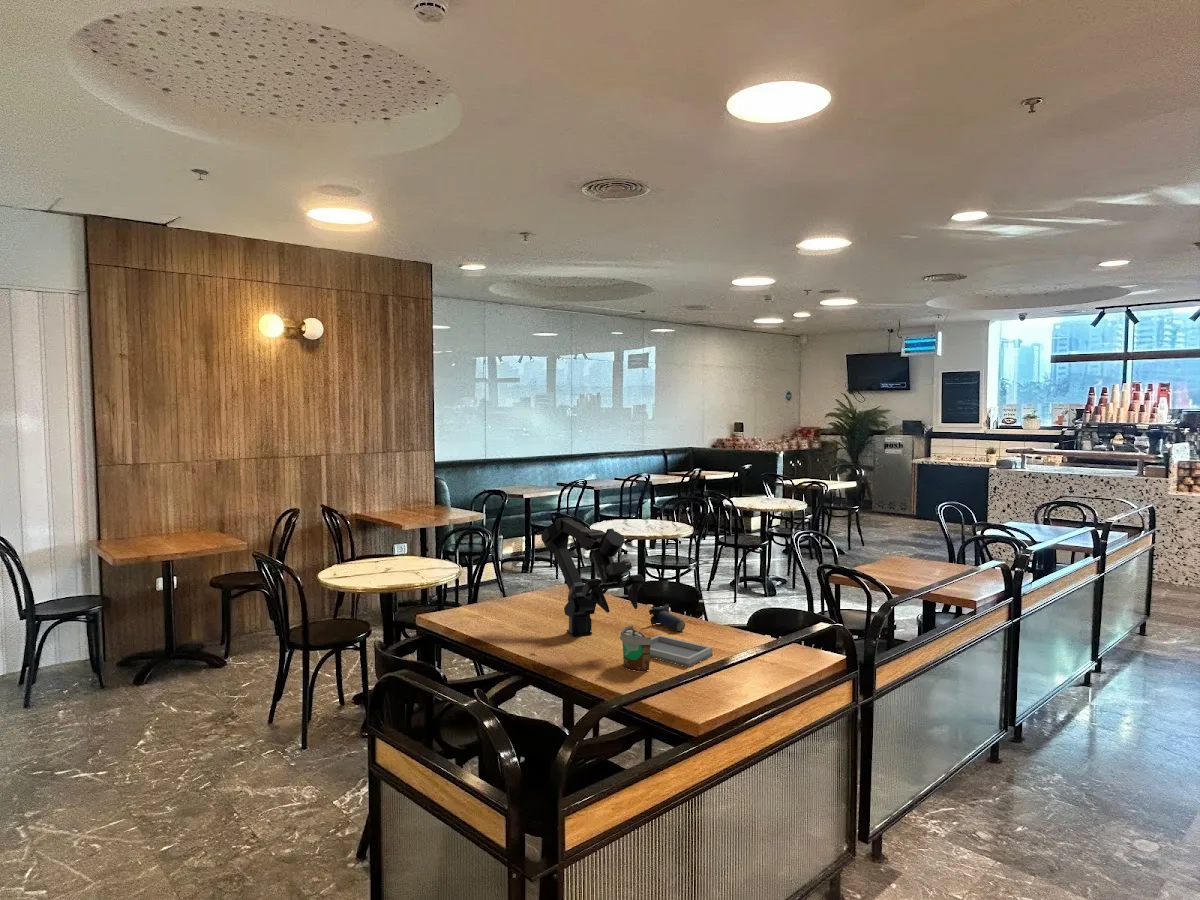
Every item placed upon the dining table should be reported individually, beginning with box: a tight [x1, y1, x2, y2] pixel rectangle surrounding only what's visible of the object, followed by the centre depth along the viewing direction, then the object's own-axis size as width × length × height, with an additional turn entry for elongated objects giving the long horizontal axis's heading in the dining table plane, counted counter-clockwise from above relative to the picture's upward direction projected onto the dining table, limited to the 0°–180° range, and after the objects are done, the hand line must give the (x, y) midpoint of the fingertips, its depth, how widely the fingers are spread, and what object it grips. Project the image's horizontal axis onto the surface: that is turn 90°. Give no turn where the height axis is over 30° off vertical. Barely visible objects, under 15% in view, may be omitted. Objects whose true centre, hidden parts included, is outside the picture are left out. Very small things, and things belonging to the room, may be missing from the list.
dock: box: [650, 634, 713, 668], centre depth 217 cm, size 13×19×2 cm
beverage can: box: [648, 603, 686, 632], centre depth 244 cm, size 9×8×12 cm
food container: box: [619, 625, 652, 672], centre depth 206 cm, size 12×6×10 cm, turn 23°
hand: (622, 610), depth 214 cm, fingers open, 9 cm apart
